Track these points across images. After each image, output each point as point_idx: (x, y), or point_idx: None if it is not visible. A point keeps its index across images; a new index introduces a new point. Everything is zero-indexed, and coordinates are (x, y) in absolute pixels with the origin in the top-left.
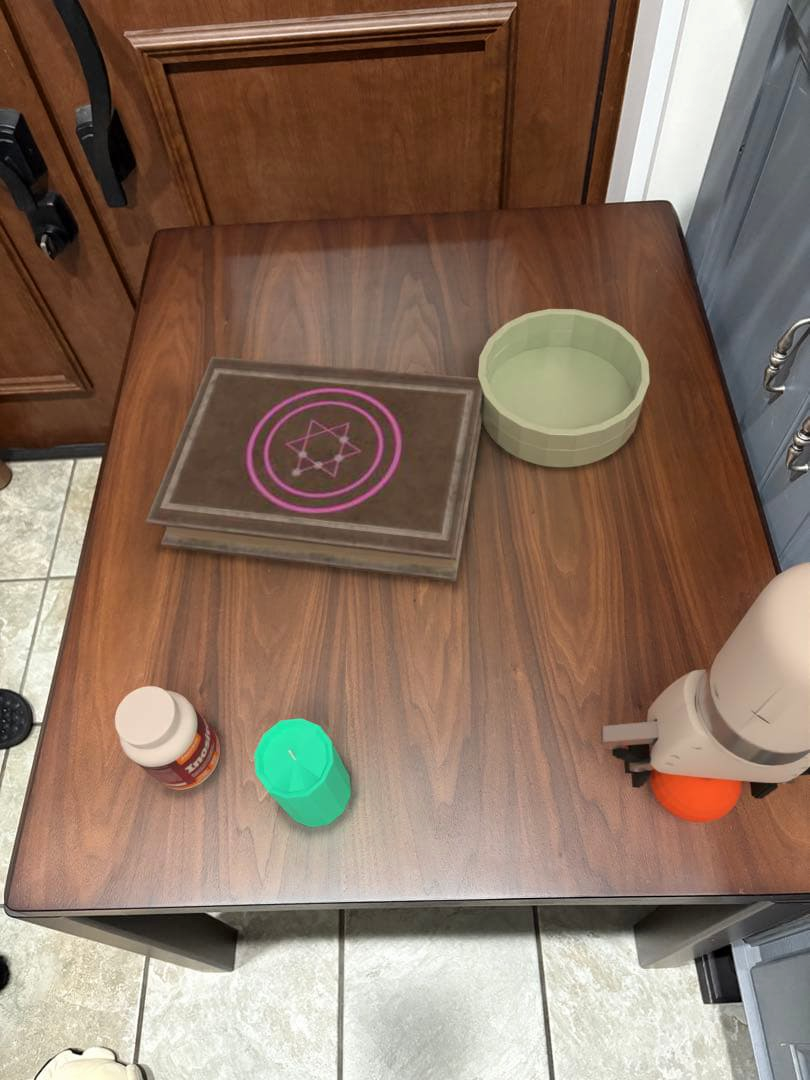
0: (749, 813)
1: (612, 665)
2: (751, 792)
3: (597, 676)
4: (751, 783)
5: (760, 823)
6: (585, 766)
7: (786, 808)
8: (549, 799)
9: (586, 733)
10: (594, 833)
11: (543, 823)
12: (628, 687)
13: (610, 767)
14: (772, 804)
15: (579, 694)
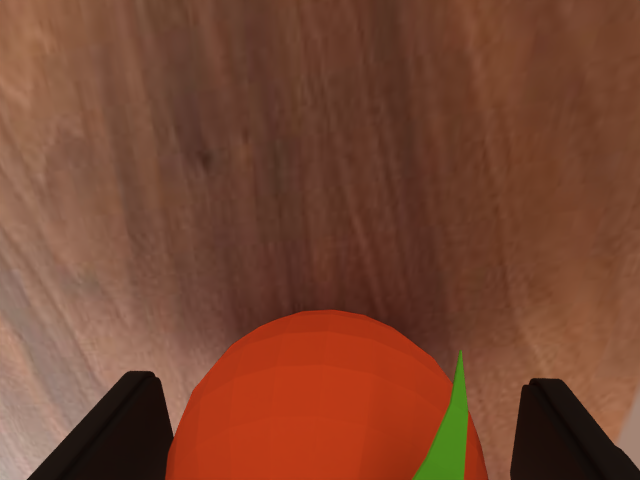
0: (492, 410)
1: (97, 16)
2: (512, 472)
3: (62, 70)
4: (519, 461)
5: (514, 429)
6: (98, 334)
7: (595, 396)
8: (44, 403)
9: (79, 256)
10: None
11: (48, 443)
12: (162, 96)
13: (154, 333)
14: None
15: (29, 143)
